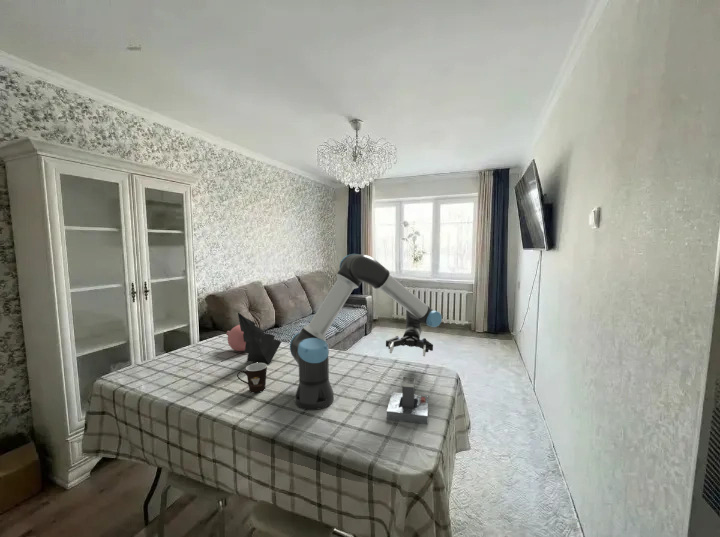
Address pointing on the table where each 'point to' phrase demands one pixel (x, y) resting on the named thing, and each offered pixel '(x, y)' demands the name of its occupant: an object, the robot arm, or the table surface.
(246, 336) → the dark angular faceted shape
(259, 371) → the coffee mug
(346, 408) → the table surface
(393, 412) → the socket block
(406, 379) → the plug
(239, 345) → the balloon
